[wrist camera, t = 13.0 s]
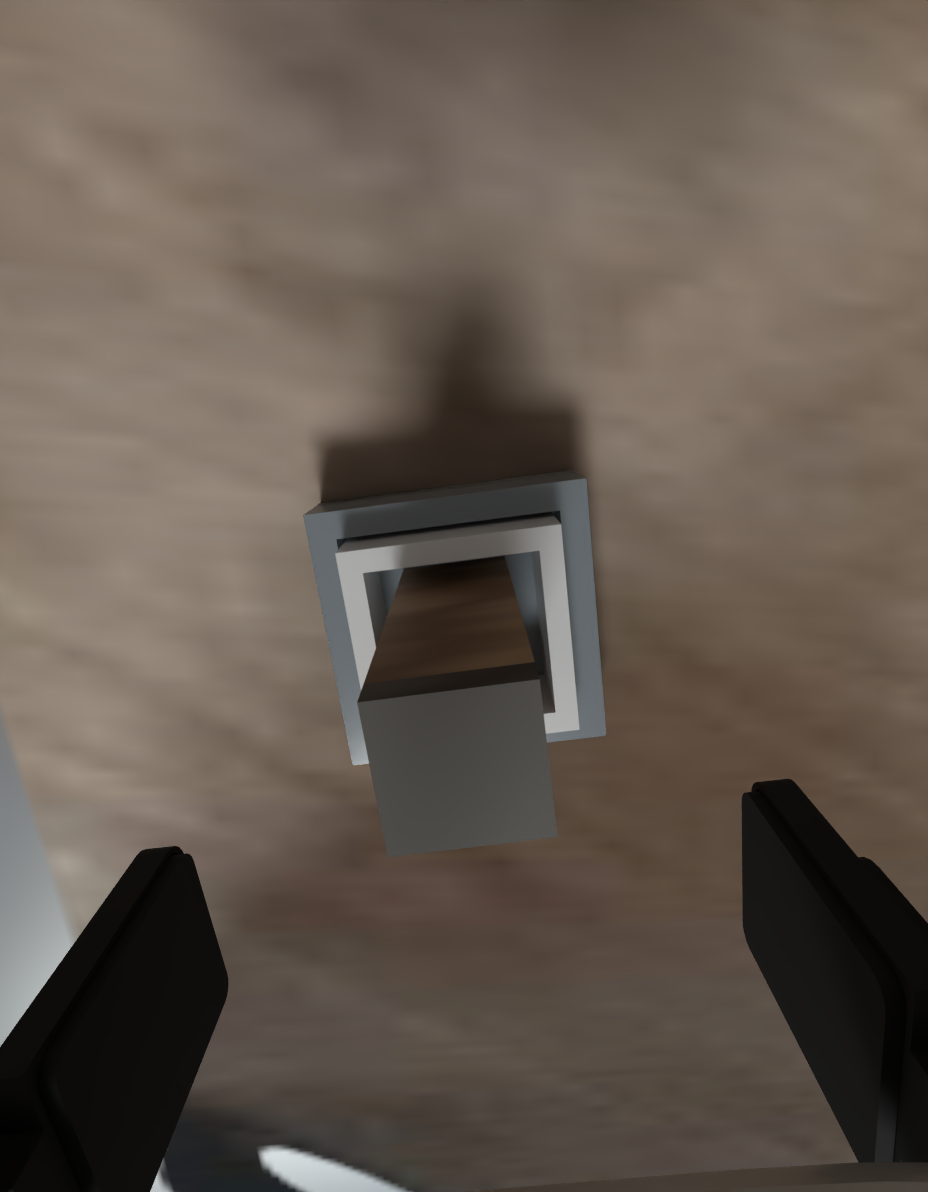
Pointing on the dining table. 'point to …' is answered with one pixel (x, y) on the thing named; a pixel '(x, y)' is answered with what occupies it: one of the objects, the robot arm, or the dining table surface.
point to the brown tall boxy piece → (456, 715)
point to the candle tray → (457, 534)
